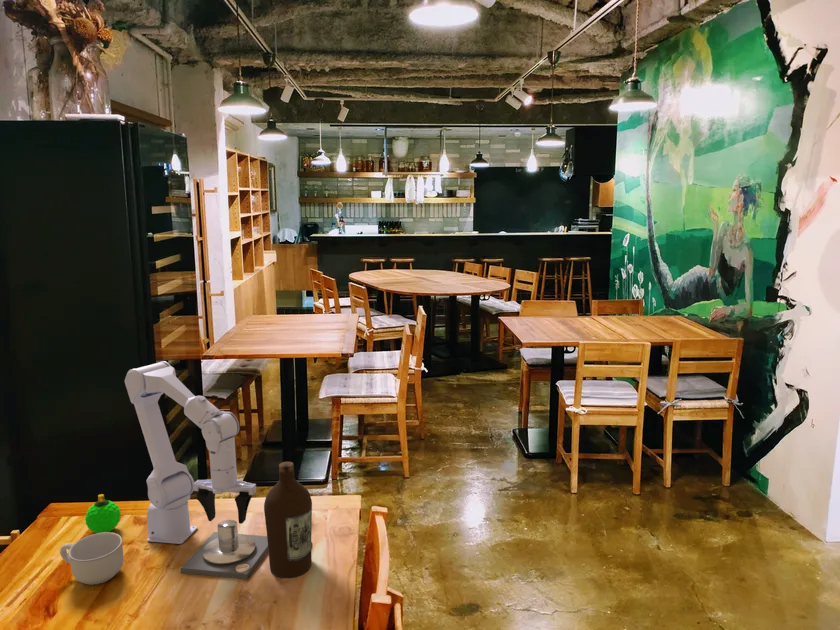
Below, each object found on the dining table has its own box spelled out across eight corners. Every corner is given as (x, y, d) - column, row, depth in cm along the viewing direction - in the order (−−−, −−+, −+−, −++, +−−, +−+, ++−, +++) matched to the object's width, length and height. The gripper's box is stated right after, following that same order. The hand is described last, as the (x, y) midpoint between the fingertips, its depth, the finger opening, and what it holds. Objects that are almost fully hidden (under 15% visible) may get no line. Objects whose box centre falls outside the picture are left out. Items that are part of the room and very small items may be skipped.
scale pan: (192, 562, 146) (192, 559, 146) (217, 535, 158) (217, 532, 158) (242, 566, 144) (241, 563, 144) (263, 539, 156) (263, 536, 156)
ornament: (107, 521, 169) (104, 485, 167) (129, 528, 165) (125, 491, 163) (79, 535, 162) (75, 498, 160) (101, 543, 158) (97, 505, 156)
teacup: (136, 568, 147) (132, 536, 146) (98, 595, 137) (94, 561, 136) (89, 557, 152) (85, 526, 150) (49, 583, 142) (45, 550, 140)
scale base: (180, 572, 145) (180, 566, 145) (214, 536, 161) (213, 530, 160) (247, 578, 142) (246, 572, 142) (274, 541, 158) (274, 535, 158)
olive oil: (257, 567, 147) (252, 465, 142) (295, 548, 155) (290, 451, 150) (286, 585, 140) (281, 478, 135) (323, 565, 148) (320, 463, 143)
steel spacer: (215, 551, 149) (214, 528, 148) (224, 542, 154) (223, 519, 153) (233, 553, 149) (231, 529, 148) (241, 543, 153) (240, 520, 152)
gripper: (185, 471, 145) (189, 526, 147) (245, 475, 142) (249, 531, 145) (200, 458, 152) (204, 511, 154) (258, 462, 149) (261, 516, 152)
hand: (227, 520), depth 150 cm, fingers open, 7 cm apart
